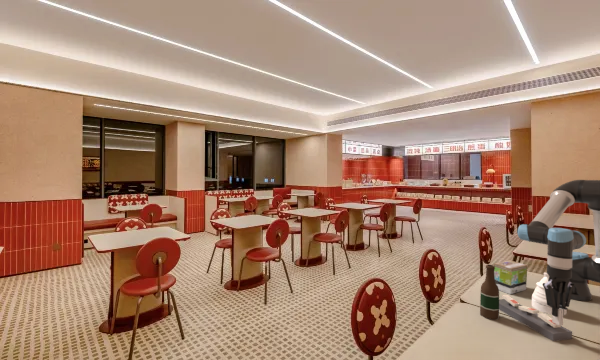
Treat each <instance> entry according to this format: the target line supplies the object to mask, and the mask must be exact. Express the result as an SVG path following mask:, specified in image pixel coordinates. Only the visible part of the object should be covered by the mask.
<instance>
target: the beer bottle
mask: <svg viewBox="0 0 600 360" xmlns="http://www.w3.org/2000/svg"><path fill="white" fill-rule="evenodd" d="M485 268H486V269H485V278H484V281H483V283H481V285H480V302H479V304H480V305H479V306H480V308H479V310H480V311H479V313H480V316H482V317H484V319H488V320H490V321H491V320H492V321H494V320H499V317H500V316H499V313H500V310H499V299H500V290H499V289H498V286H497V285H496V283H495V276H494V269H495V266H494V264H486V265H485Z"/></svg>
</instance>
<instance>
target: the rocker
mask: <svg viewBox="0 0 600 360" xmlns="http://www.w3.org/2000/svg"><path fill="white" fill-rule="evenodd" d="M501 299H505V300H506V301H508V302H509V303H510V304H511V305H513V306H514V307H515V306H520V305H521V303H519V302H518V301H517V300H516V299H514V298H513V297H511V295H510V294H508V293H506V294H501Z"/></svg>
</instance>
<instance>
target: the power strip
mask: <svg viewBox="0 0 600 360" xmlns="http://www.w3.org/2000/svg"><path fill="white" fill-rule="evenodd" d="M520 306H523V305H521V304H520ZM499 311H501V312H503V313H505V314H506V315H508V316H509V317H511V318H513V319H515V320H516V321H518V322H520V323H522V324H523V325H525V326H526V327H528V328H530V329H531V330H534V331H535V332H537V333H539V334H540V335H542V336H544V337H545V338H547V339H549V340H550V341H552V342H557V341H563V340H572V339H573V331H571V330H570V329H569V328H568V329H567V328H566V327H564V326H563V325H561V327H557V328H554V327H552V326H551V325H549V324H548V323H547V322H545V321H544V320H542V319H541V318H539V317H538V314H539V313H534V314H533V313H530V312H527V311H523V310H520V309H519V307H518V306H515V307H514V306H513V305H511V304H510V303H509V302H508V301H506V300H505V299H504V298H499Z"/></svg>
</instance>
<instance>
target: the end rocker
mask: <svg viewBox="0 0 600 360" xmlns="http://www.w3.org/2000/svg"><path fill="white" fill-rule="evenodd" d="M537 314H538V317H539V318H541V319H542V320H544V321H545V322H547V323H548V324H549V325H551V326H552V327H554V328H557V327H561V326H562V325H560V326H559V325H557V324H555V323H553V322H552V317H550V316H549V315H548V314H547V313H544V312H541V313H537Z"/></svg>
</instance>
